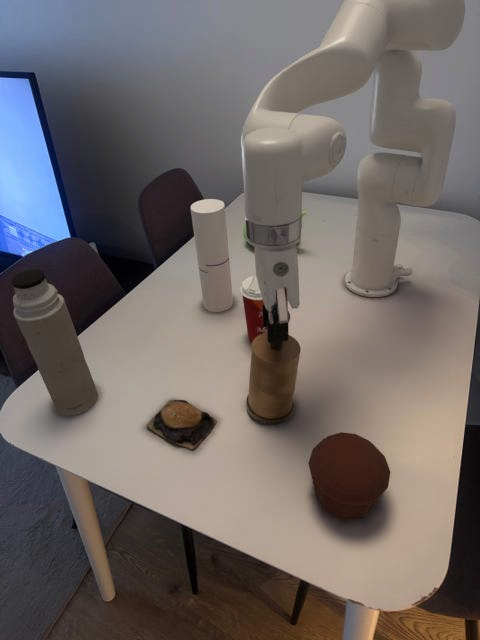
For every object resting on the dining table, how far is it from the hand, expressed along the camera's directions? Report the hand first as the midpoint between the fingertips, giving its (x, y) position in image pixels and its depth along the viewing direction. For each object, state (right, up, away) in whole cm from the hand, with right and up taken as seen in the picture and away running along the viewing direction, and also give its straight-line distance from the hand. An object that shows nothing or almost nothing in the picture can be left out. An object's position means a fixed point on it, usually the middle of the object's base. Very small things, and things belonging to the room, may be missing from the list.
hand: (275, 331), depth 73 cm
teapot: (+4, +24, +60) cm, 65 cm away
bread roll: (-16, -17, +9) cm, 25 cm away
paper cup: (-1, -2, +27) cm, 27 cm away
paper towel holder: (0, -14, +10) cm, 17 cm away
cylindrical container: (-11, +6, +38) cm, 40 cm away
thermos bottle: (-37, -14, +15) cm, 42 cm away
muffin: (+10, -24, -4) cm, 27 cm away
